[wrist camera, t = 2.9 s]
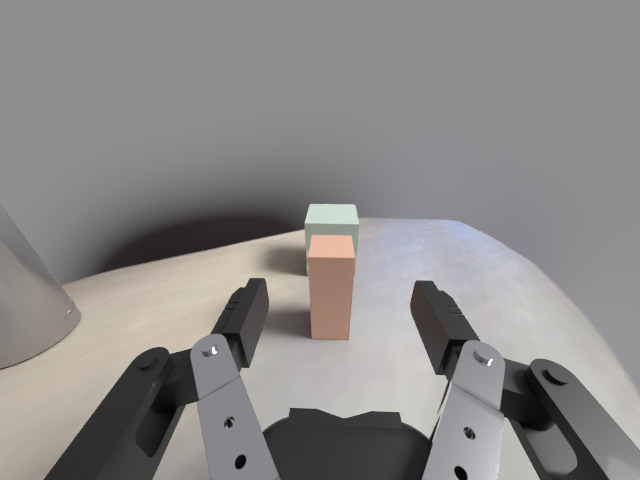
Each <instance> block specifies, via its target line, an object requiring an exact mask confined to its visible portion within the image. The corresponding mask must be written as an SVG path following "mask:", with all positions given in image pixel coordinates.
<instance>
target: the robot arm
mask: <svg viewBox="0 0 640 480" xmlns="http://www.w3.org/2000/svg"><path fill="white" fill-rule="evenodd" d="M268 308H269V298H268V292H267V286H266V281H265V279H264V278H250V279H249V281H248V283H247V285H246V287H245V288H242V287H240V288H239V289H238V290H237V291H235V292H234V293H233V294H232V296H231V298H230V299H229V301H228V303H227V305H226V307H225V310H223V312H222V314H221V316H220V317H219V319H218V321H217V323H216V325H215V326H214V328H213V330H212V332H211V334H210V335H208V336H205V337H203V338H202V339H200V340H199V341H198V342H197V343H196V344H195V345H194V346H193V348H191V349H188V350H184V351H180V352H176V353H172V354H169V352H168V350H167V349H166V348H163V347H156V348H152V349H149V350H147V351H145V352H143V353H142V354H140V355H139V356H137V357H136V358H135V359H134V360H133V361H132V362H131V364H130V365H129V366H128V368H127V369H126V370H125V372H124V373H123V374H122V376H121V377H120V378H119V380H118V381H117V382H116V384H115V385H114V386H113V388H112V389H111V390H110V392H109V393H108V394H107V396H106V397H105V398H104V400H103V401H102V402H101V404H100V405H99V406H98V408H97V409H96V410H95V412H94V413H93V414H92V416H91V417H90V418H89V420H88V421H87V422H86V424H85V425H84V426H83V428H82V429H81V430H80V432H79V433H78V434H77V436H76V437H75V438H74V440H73V441H72V442H71V444H70V445H69V446H68V448H67V449H66V450H65V452H64V453H63V454H62V456H61V457H60V458H59V460H58V461H57V462H56V464H55V465H54V466H53V468H52V469H51V470H50V472H49V473H48V474H47V476H46V477H45V479H44V480H152V479H153V477H154V474H155V472H156V470H157V468H158V466H159V463H160V461H161V459H162V457H163V454H164V452H165V450H166V448H167V446H168V443H169V441H170V439H171V437H172V435H173V432H174V430H175V428H176V426H177V423H178V421H179V419H180V417H181V415H182V412H183V410H184V408H185V406H186V405H187V404H190V403H193V402H196V401H197V408H198V413H199V418H200V424H201V429H202V434H203V439H204V445H205V450H206V455H207V460H208V466H209V471H210V476H211V480H497V479H498V471H499V462H500V453H501V444H502V435H503V426H504V417H506V418H508V419H509V421H510V423H511V425H512V427H513V429H514V431H515V433H516V435H517V437H518V438H519V440H520V442H521V444H522V446H523V448H524V450H525V452H526V454H527V455H528V457H529V459H530V461H531V463H532V465H533V467H534V469H535V471H536V473H537V474H538V476H539V478H540V480H640V450H639V449H638V447H637V446H636V445H635V444H634V443H633V442H632V441H631V439H630V438H629V437H628V436H627V435H626V434H625V432H624V431H623V430H622V429H621V428H620V427H619V426H618V424H617V423H616V422H615V421H614V420H613V419H612V418H611V416H610V415H609V414H608V413H607V412H606V411H605V410H604V408H603V407H602V406H601V405H600V404H599V403H598V401H597V400H596V399H595V398H594V397H593V396H592V395H591V393H590V392H589V391H588V390H587V389H586V388H585V387H584V385H583V384H582V383H581V382H580V381H579V380H578V379H577V378H576V376H575V375H573V374H572V373H571V372H570V371H569V370H567V369H566V368H564V367H563V366H561V365H559V364H557V363H555V362H552V361H550V360H546V359H535V360H533V361H532V362H531V364H530V365H529V366H528V365H525V364H521V363H518V362H515V361H511V360H508V359H505V358H503V357H502V356H501V354H500V353H499V352H498V351H497V350H496V349H494V348H493V347H491V346H490V345H488V344H486V343H484V342H481V341H480V339H479V338H478V336H477V335H476V333H475V332H474V330H473V329H472V327H471V326H470V324H469V323H468V321H467V320H466V318H465V317H464V315H462V312H461V310H460V309H459V308H458V306H457V304H456V303H455V301H454V300H453V298H452V297H450V296H449V295H448V294H447V293H445V292H444V291H439V290H438V289H437V287H436V285H435V284H434V282H433V281H416V282H415V285H414V289H413V294H412V298H411V303H410V308H411V314H412V316H413V319H414V321H415V324H416V326H417V329H418V331H419V334H420V336H421V339H422V341H423V344H424V346H425V349H426V351H427V354H428V356H429V359H430V361H431V364H432V366H433V369H434V371H435V374H436V375H445V376H446V378H447V380H448V382H447V385H446V388H445V391H444V393H443V396H442V399H441V402H440V405H439V408H438V411H437V414H436V417H435V420H434V423H433V426H432V428H431V431H430V434H429V436H428V438H427V437H426V436H425V435H423V434H422V433H421V432H420V431H418V430H417V429H415V428H413V427H412V426H410V425H408V424H406V423H403V422H401V418H400V414H399V412H376V411H371V412H368V413H364V414H360V415H357V416H353V417H349V418H341V417H338V416H335V415H332V414H329V413H326V412H323V411H321V410H318V409H303V408H290V412H289V417H287V418H283V419H281V420H279V421H277V422H275V423H273V424H272V425H270V426H269V427H268V428H267V429H265V430H264V431H263V432H262V430H261V428H260V425H259V423H258V420H257V417H256V415H255V412H254V410H253V407H252V404H251V402H250V399H249V397H248V394H247V391H246V389H245V386H244V383H243V381H242V378H241V376H240V374H239V373H240V370H241V368H249V367H250V364H251V361H252V358H253V355H254V352H255V349H256V346H257V343H258V340H259V337H260V334H261V331H262V328H263V324H264V321H265V318H266V315H267V312H268ZM80 317H81V313H80V311H79V310H78V308H77V307H76V306H75V304H74V302H73V301H72V300H71V299H70V297H69V296H68V295H67V293H66V292H65V290H64V289H63V288H62V286H61V285H60V284H59V282H58V281H57V279H56V278H55V277H54V275H53V274H52V273H51V271H50V270H49V269H48V267H47V266H46V265H45V263H44V262H43V261H42V259H41V258H40V257H39V255H38V254H37V252H36V251H35V250H34V248H33V247H32V246H31V244H30V243H29V242H28V240H27V239H26V238H25V236H24V235H23V233H22V232H21V231H20V229H19V228H18V227H17V225H16V224H15V223H14V221H13V220H12V219H11V217H10V216H9V215H8V213H7V212H6V211H5V209H4V208H3V207H2V205H1V204H0V369H1V368H5V367H8V366H11V365H14V364H17V363H19V362H22V361H24V360H27V359H29V358H31V357H33V356H35V355H37V354H39V353H41V352H43V351H44V350H46V349H48V348H50V347H51V346H53V345H54V344H56V343H57V342H59V341H60V340H61V339H63V338H64V337H65V336H66V335H67V334H69V333H70V332H71V331H72V330H73V329H74V328H75V326H76V325H77V324H78V322H79V320H80Z"/></svg>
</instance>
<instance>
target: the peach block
mask: <svg viewBox="0 0 640 480" xmlns="http://www.w3.org/2000/svg"><path fill="white" fill-rule="evenodd" d="M308 263H309V286H310V310H311V333H312V339H334V340H349V329H350V316H351V304H352V291H353V278H354V266H355V254H354V248H353V241H352V236H345V235H312V237H311V243H310V249H309V256H308Z"/></svg>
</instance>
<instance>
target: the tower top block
mask: <svg viewBox="0 0 640 480" xmlns="http://www.w3.org/2000/svg"><path fill="white" fill-rule="evenodd" d="M358 232H359V221H358V216H357V211H356V207H355V205H348V204H346V205H345V204H343V205H342V204H310V206H309V209H308V213H307V217H306V220H305V240H306V252H309V249H310V243H311V237H312V235H345V236H352V241H353V248H354V253H357V244H358Z"/></svg>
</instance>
